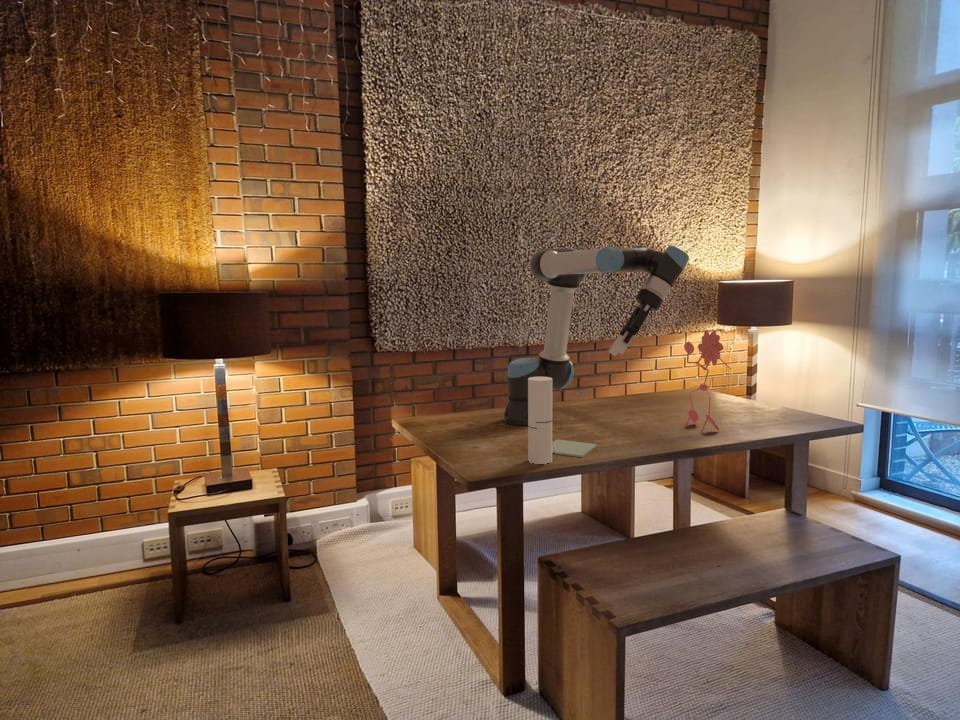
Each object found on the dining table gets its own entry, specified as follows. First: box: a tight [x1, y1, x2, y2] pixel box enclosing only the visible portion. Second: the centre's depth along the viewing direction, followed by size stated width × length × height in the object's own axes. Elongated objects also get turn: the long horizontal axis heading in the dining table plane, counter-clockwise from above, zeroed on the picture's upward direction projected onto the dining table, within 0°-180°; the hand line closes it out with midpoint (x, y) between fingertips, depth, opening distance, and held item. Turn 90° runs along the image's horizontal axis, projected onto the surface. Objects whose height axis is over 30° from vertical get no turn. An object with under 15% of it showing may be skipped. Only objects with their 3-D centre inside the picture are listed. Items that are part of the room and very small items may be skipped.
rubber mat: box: [552, 439, 598, 458], centre depth 203 cm, size 14×14×1 cm
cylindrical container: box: [527, 377, 553, 465], centre depth 189 cm, size 7×7×25 cm
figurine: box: [683, 329, 732, 433], centre depth 226 cm, size 15×26×35 cm, turn 17°
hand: (614, 353), depth 194 cm, fingers open, 13 cm apart
